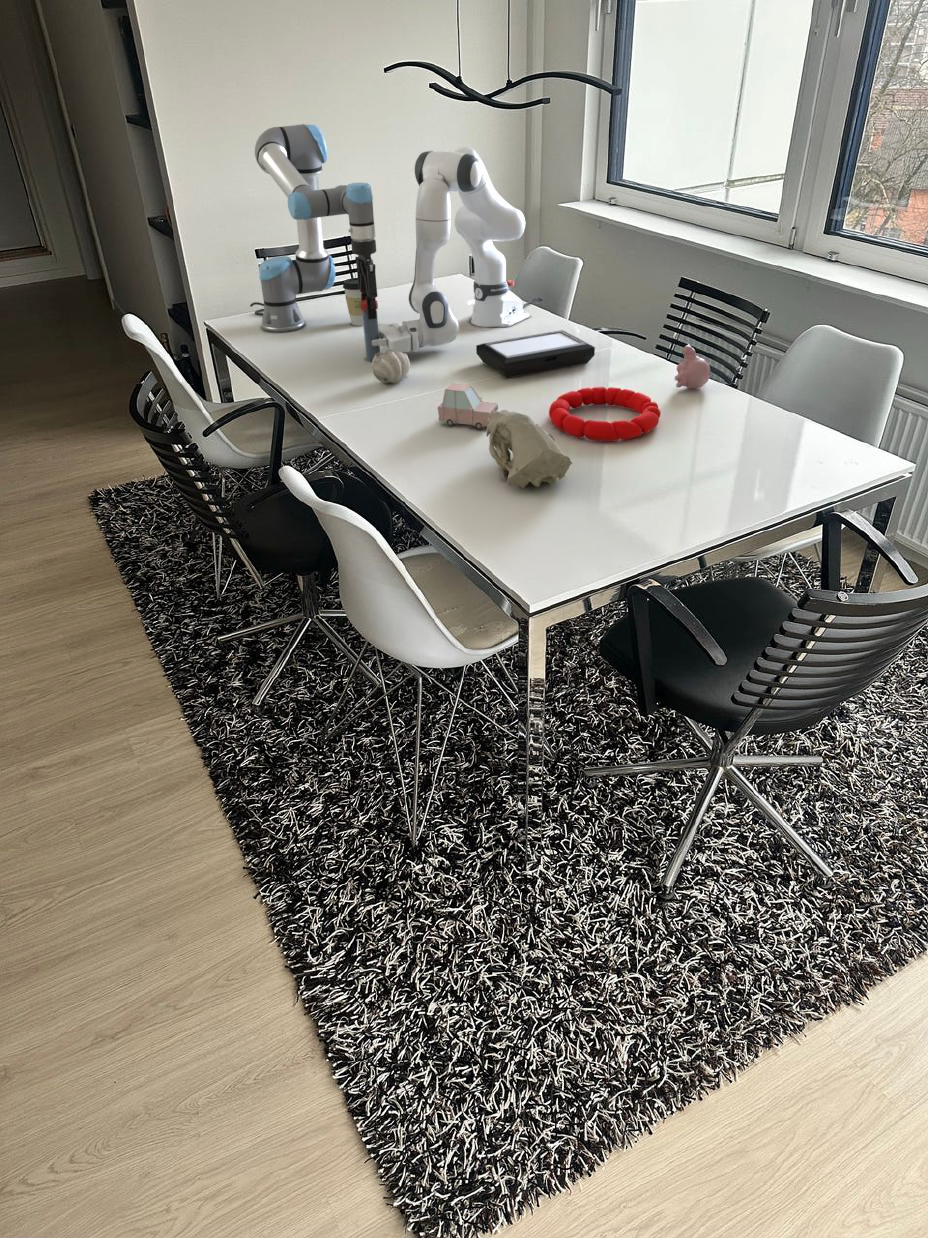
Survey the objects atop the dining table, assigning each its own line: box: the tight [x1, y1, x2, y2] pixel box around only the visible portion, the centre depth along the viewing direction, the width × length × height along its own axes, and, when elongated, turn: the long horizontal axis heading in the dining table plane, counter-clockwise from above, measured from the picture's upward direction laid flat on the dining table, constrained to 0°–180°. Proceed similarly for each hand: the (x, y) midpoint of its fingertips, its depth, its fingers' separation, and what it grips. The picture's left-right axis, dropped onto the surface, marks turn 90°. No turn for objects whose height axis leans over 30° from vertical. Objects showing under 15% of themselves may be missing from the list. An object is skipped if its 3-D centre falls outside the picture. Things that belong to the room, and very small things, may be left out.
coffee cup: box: [342, 277, 363, 327], centre depth 323 cm, size 10×10×15 cm
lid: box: [360, 299, 379, 311], centre depth 284 cm, size 6×6×2 cm
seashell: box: [371, 349, 411, 384], centre depth 271 cm, size 10×15×10 cm
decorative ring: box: [548, 386, 661, 442], centre depth 242 cm, size 7×30×30 cm
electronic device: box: [475, 329, 596, 379], centre depth 283 cm, size 32×6×20 cm
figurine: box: [674, 344, 711, 390], centre depth 259 cm, size 9×11×12 cm
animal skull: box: [485, 409, 573, 489], centre depth 216 cm, size 17×25×20 cm
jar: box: [362, 311, 381, 362], centre depth 289 cm, size 5×5×17 cm
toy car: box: [437, 382, 499, 431], centre depth 243 cm, size 9×15×10 cm, turn 70°
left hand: (369, 315), depth 286 cm, fingers closed on lid, 5 cm apart
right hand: (369, 339), depth 290 cm, fingers closed on jar, 5 cm apart
